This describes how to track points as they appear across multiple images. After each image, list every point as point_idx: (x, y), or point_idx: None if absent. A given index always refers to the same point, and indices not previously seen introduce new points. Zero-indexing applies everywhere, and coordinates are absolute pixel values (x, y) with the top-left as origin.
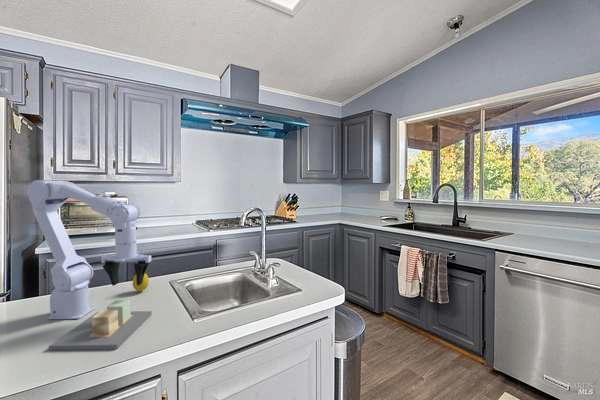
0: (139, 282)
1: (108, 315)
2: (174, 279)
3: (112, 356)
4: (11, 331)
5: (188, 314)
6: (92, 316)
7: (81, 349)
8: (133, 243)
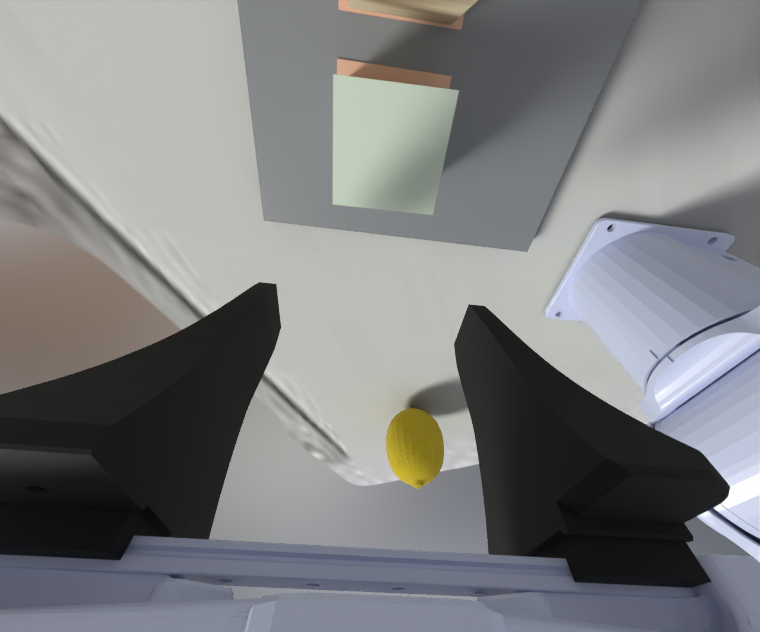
0: (243, 295)
1: None
2: (337, 465)
3: None
4: None
5: (78, 189)
6: (541, 202)
7: None
8: None
